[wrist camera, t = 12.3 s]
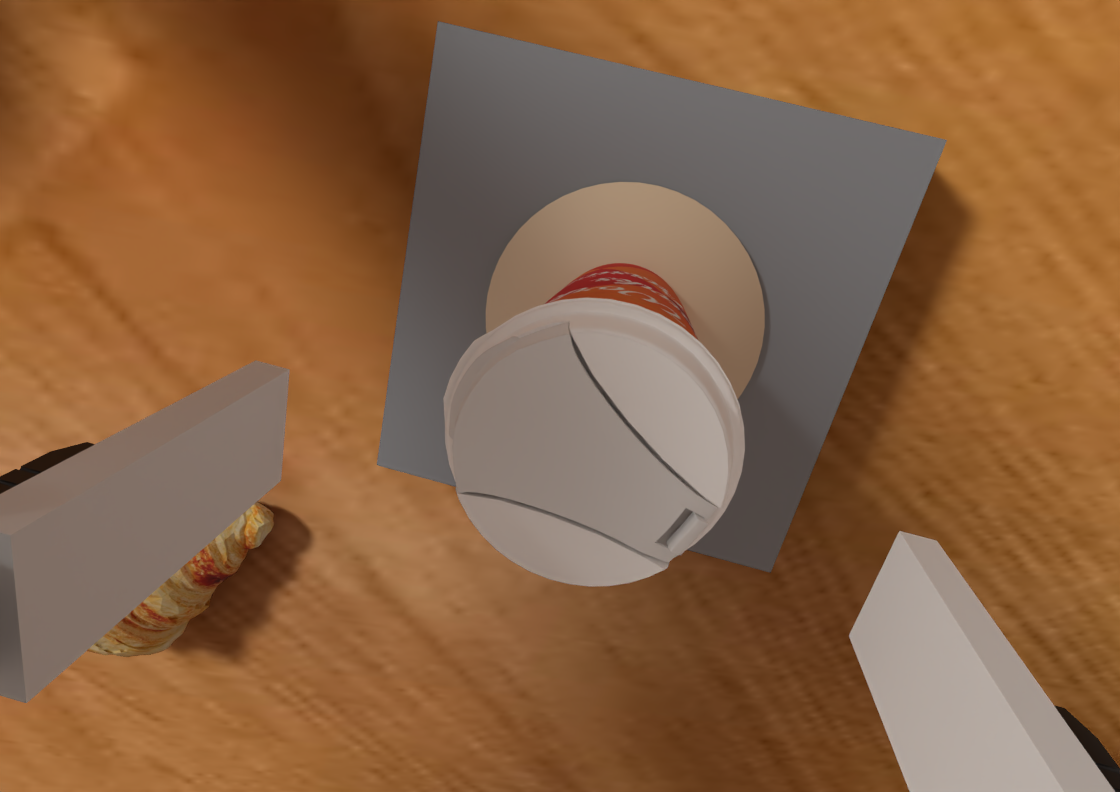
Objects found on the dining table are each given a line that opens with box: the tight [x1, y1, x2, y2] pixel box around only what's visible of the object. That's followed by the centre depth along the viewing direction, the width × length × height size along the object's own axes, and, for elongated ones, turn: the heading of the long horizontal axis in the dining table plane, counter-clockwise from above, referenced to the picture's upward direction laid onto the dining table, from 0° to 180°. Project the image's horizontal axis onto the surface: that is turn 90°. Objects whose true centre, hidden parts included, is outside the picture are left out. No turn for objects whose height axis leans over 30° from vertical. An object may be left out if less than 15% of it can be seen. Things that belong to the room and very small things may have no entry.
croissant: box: [87, 502, 274, 657], centre depth 40 cm, size 21×10×8 cm, turn 115°
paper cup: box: [443, 263, 745, 586], centre depth 23 cm, size 8×8×14 cm
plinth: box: [377, 21, 947, 573], centre depth 31 cm, size 20×20×4 cm
